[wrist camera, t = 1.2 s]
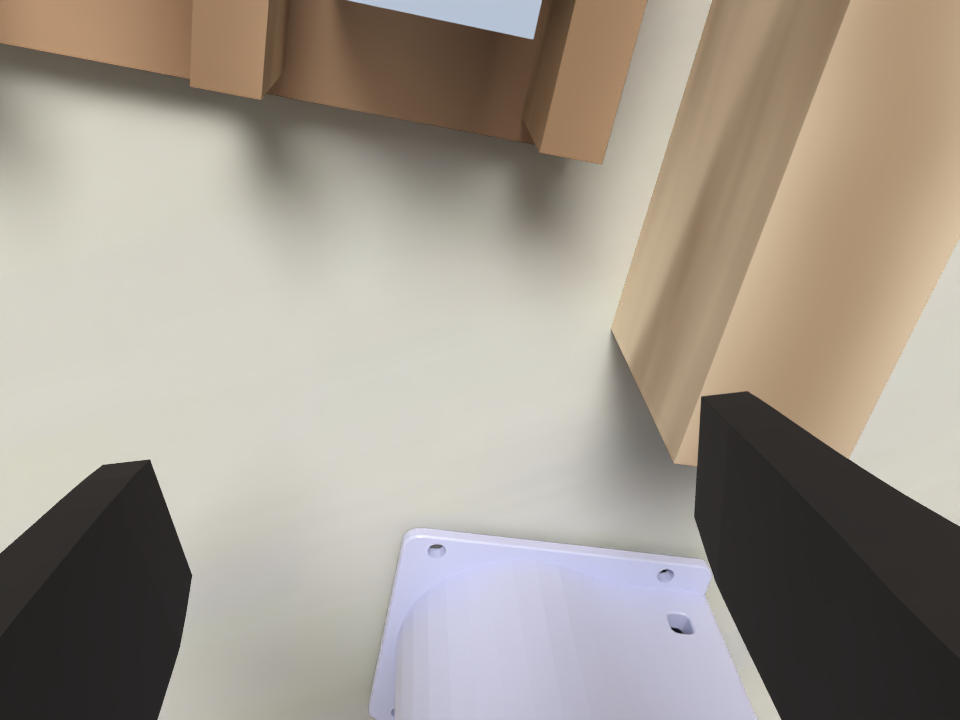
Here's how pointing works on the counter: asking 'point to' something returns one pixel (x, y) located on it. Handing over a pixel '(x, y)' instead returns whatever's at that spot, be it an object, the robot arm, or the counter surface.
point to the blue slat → (473, 13)
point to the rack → (367, 59)
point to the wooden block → (797, 213)
